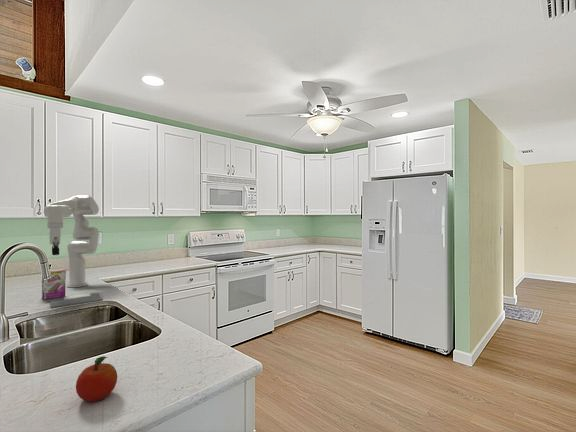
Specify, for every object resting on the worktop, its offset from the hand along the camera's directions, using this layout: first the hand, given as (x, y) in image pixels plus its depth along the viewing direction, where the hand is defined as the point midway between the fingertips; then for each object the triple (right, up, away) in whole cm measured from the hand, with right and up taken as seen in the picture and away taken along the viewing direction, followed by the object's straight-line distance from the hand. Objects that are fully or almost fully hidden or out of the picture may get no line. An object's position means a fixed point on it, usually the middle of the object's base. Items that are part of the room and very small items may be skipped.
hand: (55, 254), depth 184 cm
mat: (+17, -26, -6) cm, 32 cm away
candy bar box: (-1, -27, 0) cm, 27 cm away
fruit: (+89, -26, -102) cm, 138 cm away
